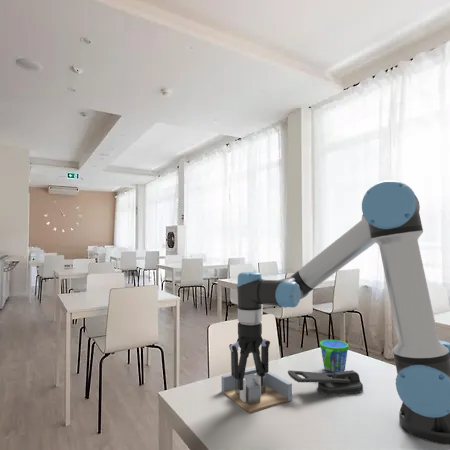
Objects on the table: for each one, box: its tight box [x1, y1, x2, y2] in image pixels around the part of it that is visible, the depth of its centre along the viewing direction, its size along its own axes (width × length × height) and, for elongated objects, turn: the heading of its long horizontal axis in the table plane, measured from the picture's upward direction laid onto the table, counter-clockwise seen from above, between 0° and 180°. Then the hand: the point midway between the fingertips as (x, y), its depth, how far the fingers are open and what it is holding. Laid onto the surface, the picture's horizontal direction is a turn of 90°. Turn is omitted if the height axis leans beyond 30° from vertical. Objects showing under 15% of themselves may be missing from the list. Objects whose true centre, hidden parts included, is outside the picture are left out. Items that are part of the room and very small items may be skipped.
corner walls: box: [221, 367, 293, 402], centre depth 109 cm, size 16×16×5 cm
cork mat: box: [223, 386, 289, 414], centre depth 108 cm, size 15×14×1 cm
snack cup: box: [319, 339, 350, 374], centre depth 130 cm, size 16×10×10 cm
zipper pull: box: [287, 370, 364, 396], centre depth 112 cm, size 9×7×25 cm
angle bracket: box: [235, 373, 266, 405], centre depth 108 cm, size 9×9×5 cm
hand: (250, 398), depth 105 cm, fingers open, 4 cm apart
